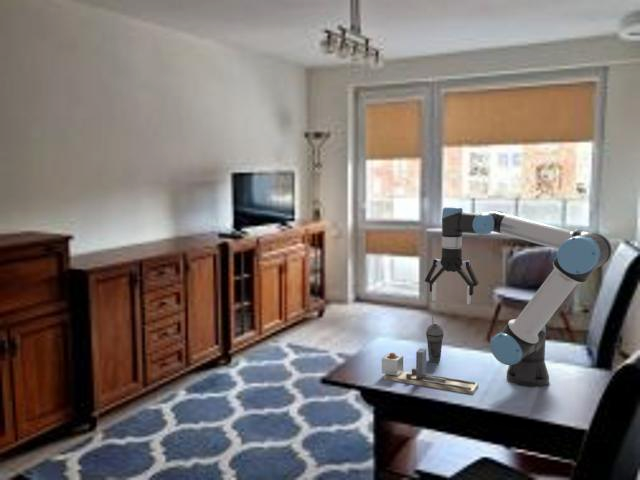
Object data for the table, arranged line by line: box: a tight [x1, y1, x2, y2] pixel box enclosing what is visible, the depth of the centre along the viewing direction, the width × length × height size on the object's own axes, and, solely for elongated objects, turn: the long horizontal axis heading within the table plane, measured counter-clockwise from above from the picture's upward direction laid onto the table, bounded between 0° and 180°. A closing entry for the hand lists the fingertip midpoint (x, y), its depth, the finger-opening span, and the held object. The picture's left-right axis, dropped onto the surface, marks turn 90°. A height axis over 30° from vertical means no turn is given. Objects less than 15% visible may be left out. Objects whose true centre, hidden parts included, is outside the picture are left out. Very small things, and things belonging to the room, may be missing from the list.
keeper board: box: [383, 352, 479, 395], centre depth 216 cm, size 34×8×9 cm, turn 62°
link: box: [381, 353, 404, 376], centre depth 223 cm, size 6×6×6 cm
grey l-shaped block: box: [415, 348, 446, 382], centre depth 216 cm, size 11×5×10 cm, turn 62°
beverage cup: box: [425, 313, 445, 364], centre depth 240 cm, size 7×7×20 cm
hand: (451, 301), depth 223 cm, fingers open, 13 cm apart
